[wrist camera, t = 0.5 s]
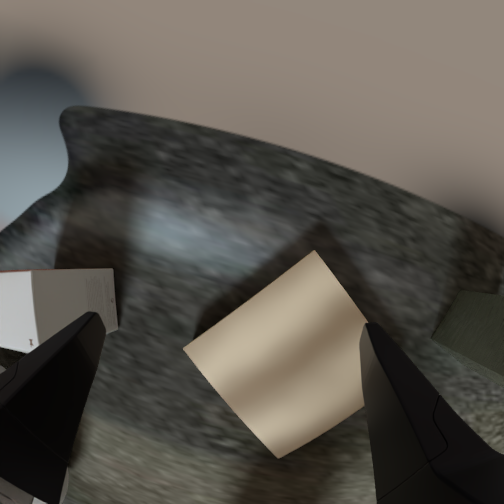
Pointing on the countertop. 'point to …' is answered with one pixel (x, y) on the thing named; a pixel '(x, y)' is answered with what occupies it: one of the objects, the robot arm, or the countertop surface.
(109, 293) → the small box
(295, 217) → the countertop surface
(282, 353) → the wooden block
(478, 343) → the tea tin
